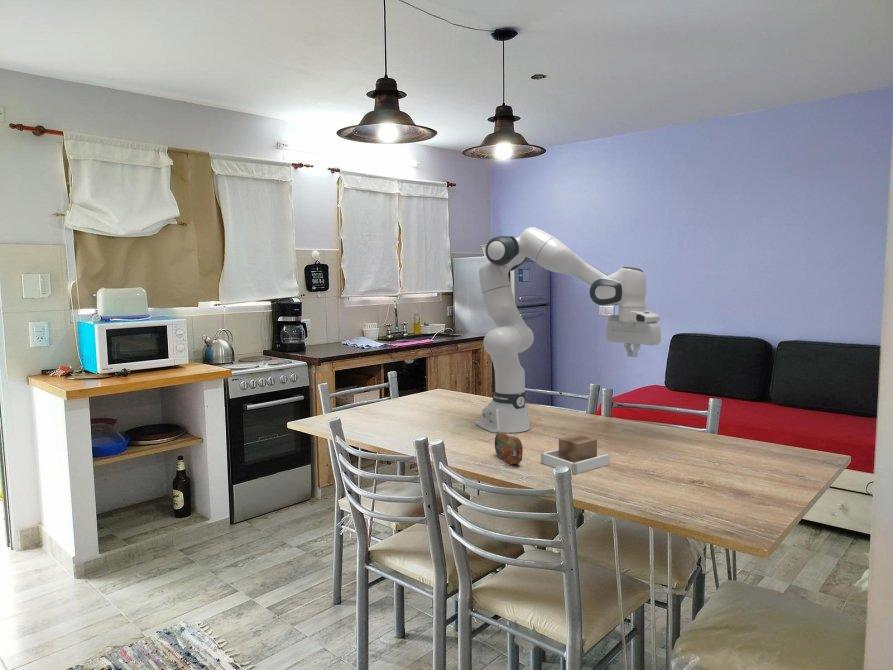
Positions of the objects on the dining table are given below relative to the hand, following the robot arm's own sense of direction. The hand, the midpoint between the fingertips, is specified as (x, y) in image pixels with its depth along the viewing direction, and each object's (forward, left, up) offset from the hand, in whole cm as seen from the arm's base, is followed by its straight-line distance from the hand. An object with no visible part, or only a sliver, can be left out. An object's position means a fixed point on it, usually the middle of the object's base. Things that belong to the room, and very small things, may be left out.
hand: (632, 356), depth 201 cm
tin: (-10, -46, -29) cm, 56 cm away
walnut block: (+5, -31, -29) cm, 43 cm away
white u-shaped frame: (+5, -32, -29) cm, 43 cm away
